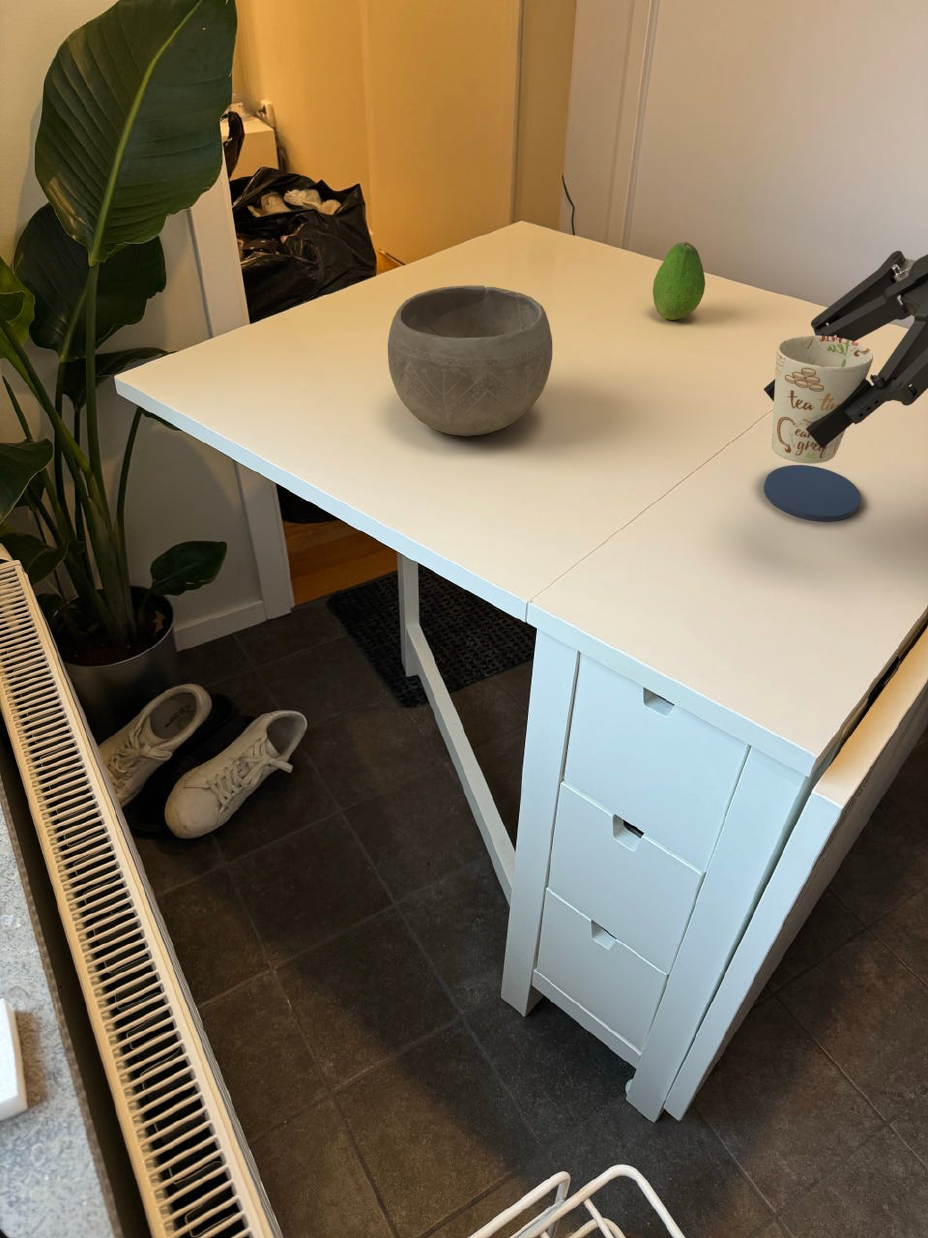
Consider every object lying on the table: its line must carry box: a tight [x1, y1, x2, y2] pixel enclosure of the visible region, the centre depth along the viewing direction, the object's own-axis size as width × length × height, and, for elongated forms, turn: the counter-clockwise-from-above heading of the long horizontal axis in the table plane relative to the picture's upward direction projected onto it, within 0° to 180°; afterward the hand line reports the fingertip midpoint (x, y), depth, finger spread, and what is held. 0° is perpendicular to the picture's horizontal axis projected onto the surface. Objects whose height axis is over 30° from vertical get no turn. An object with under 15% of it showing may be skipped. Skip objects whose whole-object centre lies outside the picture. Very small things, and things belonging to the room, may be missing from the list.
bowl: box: [387, 285, 553, 437], centre depth 114 cm, size 21×21×15 cm
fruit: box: [652, 241, 706, 321], centre depth 141 cm, size 8×8×12 cm
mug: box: [771, 335, 874, 465], centre depth 86 cm, size 8×13×10 cm, turn 133°
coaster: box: [763, 464, 862, 522], centre depth 106 cm, size 11×11×1 cm
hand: (792, 417), depth 86 cm, fingers closed on mug, 7 cm apart
